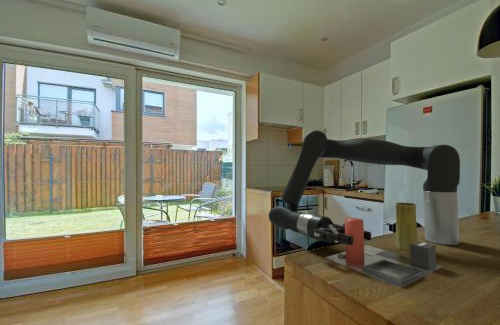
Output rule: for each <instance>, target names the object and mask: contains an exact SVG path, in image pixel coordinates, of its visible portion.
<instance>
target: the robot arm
mask: <svg viewBox="0 0 500 325" xmlns="http://www.w3.org/2000/svg"><path fill="white" fill-rule="evenodd" d="M319 158H322V159H324V158H325V159H326V158H327V159H340V160H346V161H352V162H358V163H364V164H371V165H381V166H382V165H383V166H405V167H410V168H415V169H421V170H424V171H427V175H426V176H427V177H426V179H425V181H424V182H423V185H422V192H423V193H422V195H423V198H422V199H423V220H424V221H423V222H424V223H423V224H424V239H425V240H426V241H427V242H430V243H434V244H438V245H439V244H440V245H445V246H446V245H448V246H449V245H451V246H456V245H459V244H460V230H459V229H460V228H459V225H460V224H459V207H458V206H459V204H458V186H459V184H460V182H461V181H460V180H461V159H460V153H459V152H458V151H457V149H456V148H455V147H454V146H452V145H448V144H437V145H432V146H408V145H407V146H406V145H402V144H398V143H396V142H392V141H388V140H384V139H376V138H375V139H374V138H353V139H346V140H338V139H337V140H336V139H329V138H327V135H326V133H324V132H323V131H322V130H311V131H309V132H308V133H307V134H306V135H305V136H304V137H303V140H302V146H301V151H300V153H299V158H298V160H297V162H296V165H295V167H294V170H292V171H293V172H292V173H291V175H290V177H289V180H288V182H287V184H286V185H285V188H284V191H283V192H282V195H281V200H282V201H283V202H284V203H285V204H286V205H285V206H286V207H283V206H278V205H277V206H274V207H273V208H271V209H270V210H269V212H268V220H269V222H270V223H271V224H272V225H274V226H276V227H278V228H279V227H280V228H281V229H284V230H291V231H293V232H295V233H297V234H301V235H302V236H304V237H308V238H311V239H314V240H317V241H319V242H324V243H329V244H332V243H333V242H334V243H336V244H337V243H341V244H344V245H345V244H347V245H353V237H352V236H349V235H345V222H344V223H342V224H341V223H334V222H333V221H332V219H331V218H330V217H328V216H325V215H320V214H316V213H307V212H301V211H299V206H300V201H301V200H302V198H303V195H304V193H305V190H306V188H307V185H308V182H309V180H310V177H311V174H312V172H313V169H314V167H315V165H316V163H317V161H318V159H319ZM371 240H372V232H370V231H367V230H364V241H371Z"/></svg>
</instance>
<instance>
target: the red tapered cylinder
mask: <svg viewBox="0 0 500 325" xmlns="http://www.w3.org/2000/svg"><path fill="white" fill-rule="evenodd" d="M344 223H345V235H349V236H352V237H353V245H347V244H344V245H345V246H344V247H345V252H346V261H347V262H349V263H352V264H363V263H364V246H365V239H364V231H365V229H364V219H362V218H357V217H345V218H344Z"/></svg>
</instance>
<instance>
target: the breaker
mask: <svg viewBox="0 0 500 325" xmlns="http://www.w3.org/2000/svg"><path fill="white" fill-rule="evenodd" d="M436 249H437V246H436V244H435V245H434V244H429V243H427V242H421V241H418V242H415V243H412V244H410V251H409V253H410V256H409V257H411V264H413V265H416V266H420V267H423V268H426V269H430V268H433V267H435V266H436V265H437V253H436V252H437V250H436Z"/></svg>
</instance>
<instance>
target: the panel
mask: <svg viewBox="0 0 500 325" xmlns="http://www.w3.org/2000/svg"><path fill="white" fill-rule="evenodd" d="M324 259H327V260H329V261H332V262H334V263H336V264H339V265H342V266H344V267H347V268H350V269H351V270H354V271H356V272H360V273H362V274H364V275H367V276H369V277H371V278H375V279H378V280H379V281H382V282H384V283H387V284H389V285H392V286H395V287H397V288H399V289H401V288H403V287H406V286H408V285H410V284H411V283H414V282H415V281H418V280H420V279H422V278H423V277H425V276H427V275H429V274H431V273H433V272H435V271H437V270H439V269H442V268H443V266H442V265H438V264H436V266H435V267H433V268H430V269H426V268H423V267H420V266H416V265H413V264H411V256H407V255H403V254H399V253H396V252H392V251H389V250H387V249H382V248H378V247H375V246H372V245H368V244H367V245H364V263H363V264H352V263H349V262H347V261H346V251H343V252H339V253H335V254H333V255H329V256H325V257H324Z"/></svg>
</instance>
